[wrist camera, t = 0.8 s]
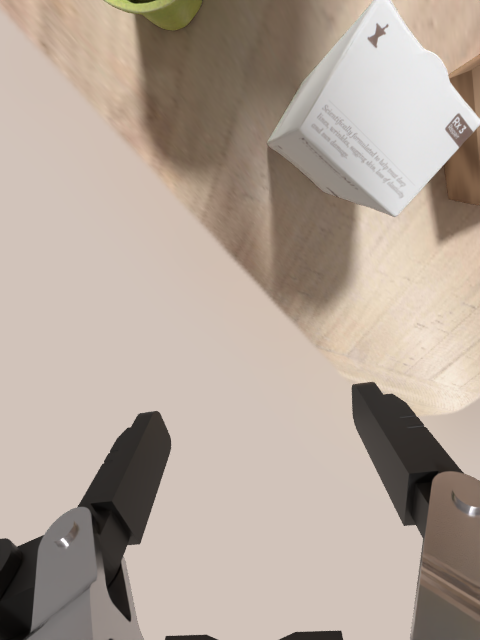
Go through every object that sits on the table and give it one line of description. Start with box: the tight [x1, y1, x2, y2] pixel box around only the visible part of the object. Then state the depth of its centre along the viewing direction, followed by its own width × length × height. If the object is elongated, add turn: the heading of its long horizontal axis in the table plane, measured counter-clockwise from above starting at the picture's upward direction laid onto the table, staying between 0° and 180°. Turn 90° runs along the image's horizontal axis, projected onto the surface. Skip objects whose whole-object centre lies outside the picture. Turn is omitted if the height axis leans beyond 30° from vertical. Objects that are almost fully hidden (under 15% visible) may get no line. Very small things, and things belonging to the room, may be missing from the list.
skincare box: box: [267, 0, 480, 217], centre depth 19 cm, size 8×6×15 cm
